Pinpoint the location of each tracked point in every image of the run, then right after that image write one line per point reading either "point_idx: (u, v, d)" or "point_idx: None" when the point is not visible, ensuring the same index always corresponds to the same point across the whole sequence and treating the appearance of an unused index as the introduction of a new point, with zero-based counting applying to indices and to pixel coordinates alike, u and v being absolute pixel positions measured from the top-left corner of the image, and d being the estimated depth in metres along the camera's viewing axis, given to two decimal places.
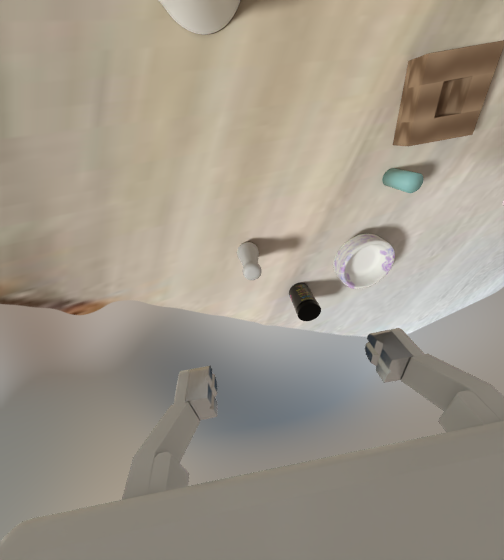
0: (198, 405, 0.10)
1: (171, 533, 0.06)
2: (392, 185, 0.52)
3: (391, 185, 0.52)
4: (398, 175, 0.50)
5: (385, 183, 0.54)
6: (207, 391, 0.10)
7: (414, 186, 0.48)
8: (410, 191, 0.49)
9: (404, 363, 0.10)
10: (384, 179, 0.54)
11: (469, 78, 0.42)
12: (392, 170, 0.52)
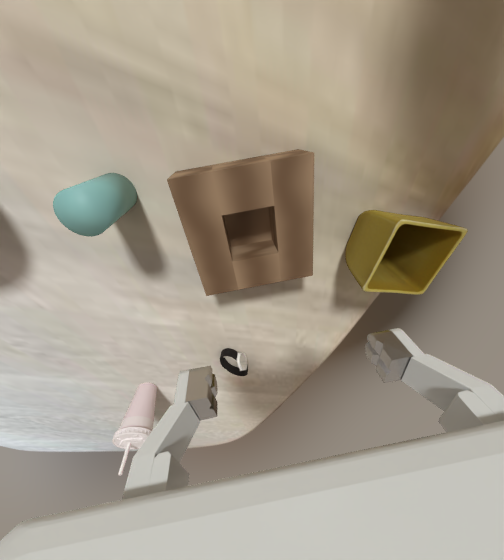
0: (198, 405, 0.10)
1: (171, 533, 0.06)
2: None
3: None
4: (106, 184, 0.21)
5: None
6: (207, 391, 0.10)
7: (75, 218, 0.19)
8: (59, 213, 0.18)
9: (405, 364, 0.10)
10: (105, 174, 0.23)
11: (275, 251, 0.27)
12: (126, 184, 0.24)
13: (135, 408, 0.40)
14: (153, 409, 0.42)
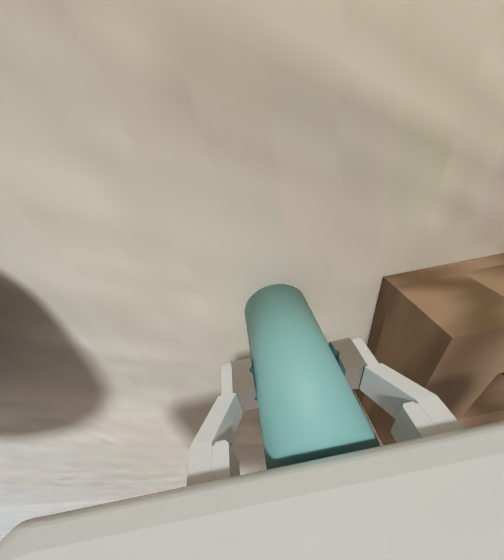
0: (244, 396, 0.10)
1: (171, 533, 0.06)
2: (268, 338, 0.10)
3: (264, 335, 0.11)
4: (325, 348, 0.10)
5: (258, 302, 0.13)
6: (253, 382, 0.10)
7: None
8: (276, 466, 0.08)
9: (360, 372, 0.10)
10: (273, 292, 0.13)
11: None
12: (310, 309, 0.13)
13: None
14: None
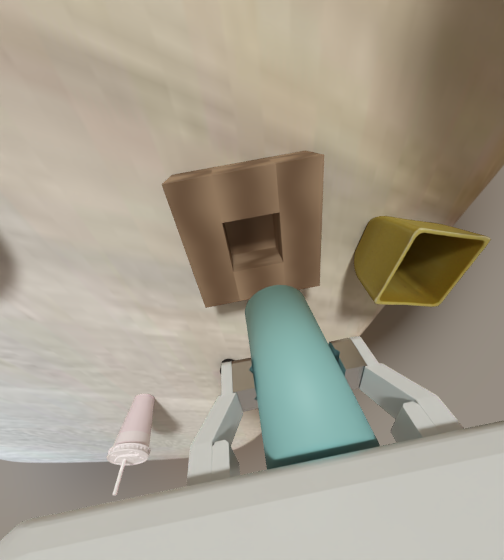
0: (244, 396, 0.10)
1: (171, 533, 0.06)
2: (268, 338, 0.10)
3: (264, 335, 0.11)
4: (325, 349, 0.10)
5: (259, 302, 0.13)
6: (253, 382, 0.10)
7: None
8: (277, 467, 0.08)
9: (360, 372, 0.10)
10: (273, 293, 0.13)
11: (279, 260, 0.25)
12: (310, 310, 0.13)
13: (131, 421, 0.38)
14: (150, 422, 0.40)
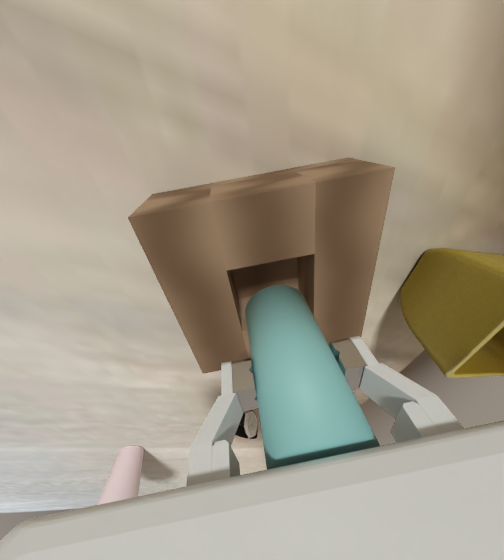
0: (244, 396, 0.10)
1: (171, 533, 0.06)
2: (268, 339, 0.10)
3: (264, 336, 0.11)
4: (325, 349, 0.10)
5: (259, 303, 0.13)
6: (253, 382, 0.10)
7: None
8: None
9: (360, 372, 0.10)
10: (273, 293, 0.13)
11: None
12: (310, 310, 0.13)
13: (113, 488, 0.31)
14: (137, 485, 0.33)
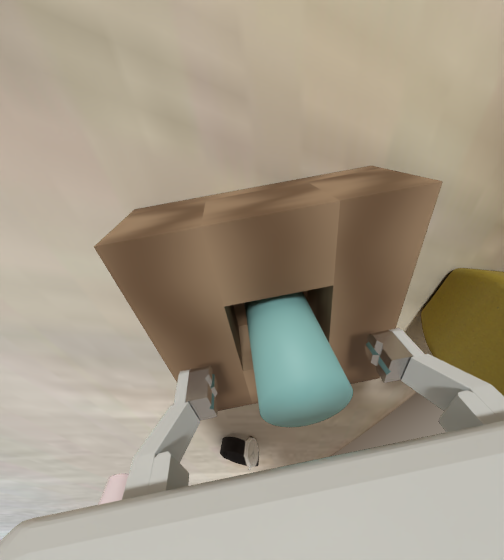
0: (198, 405, 0.10)
1: (171, 533, 0.06)
2: (262, 310, 0.12)
3: (259, 308, 0.12)
4: (311, 317, 0.11)
5: None
6: (207, 391, 0.10)
7: (290, 410, 0.09)
8: (267, 407, 0.09)
9: (404, 363, 0.10)
10: None
11: None
12: None
13: None
14: None
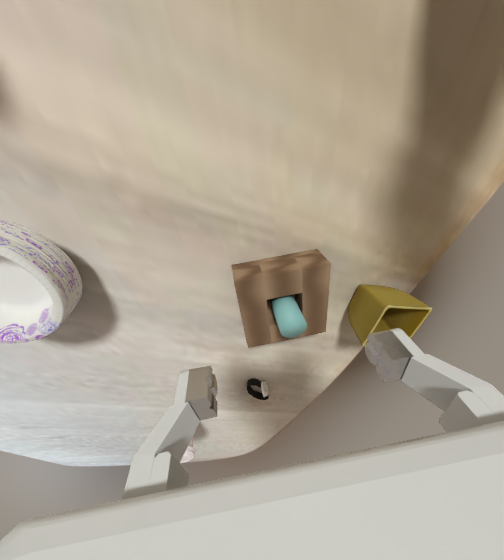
0: (198, 405, 0.10)
1: (171, 533, 0.06)
2: (278, 301, 0.34)
3: (277, 301, 0.35)
4: (295, 303, 0.34)
5: None
6: (207, 391, 0.10)
7: (288, 330, 0.32)
8: (282, 328, 0.31)
9: (405, 363, 0.10)
10: None
11: None
12: None
13: None
14: None
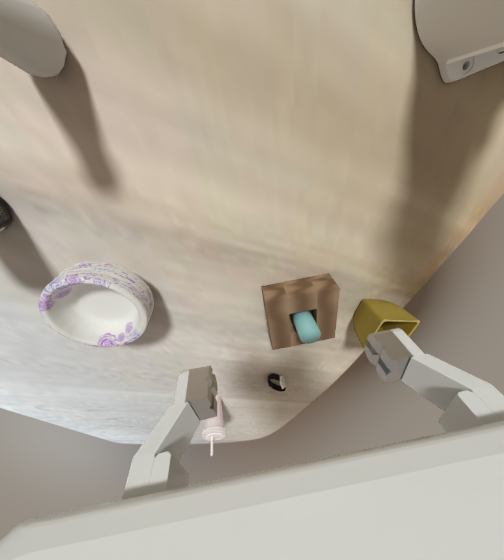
0: (198, 405, 0.10)
1: (171, 533, 0.06)
2: (298, 315, 0.44)
3: (297, 314, 0.44)
4: (311, 316, 0.44)
5: None
6: (207, 391, 0.10)
7: (307, 338, 0.42)
8: (302, 336, 0.41)
9: (405, 363, 0.10)
10: None
11: None
12: None
13: None
14: (222, 414, 0.62)
